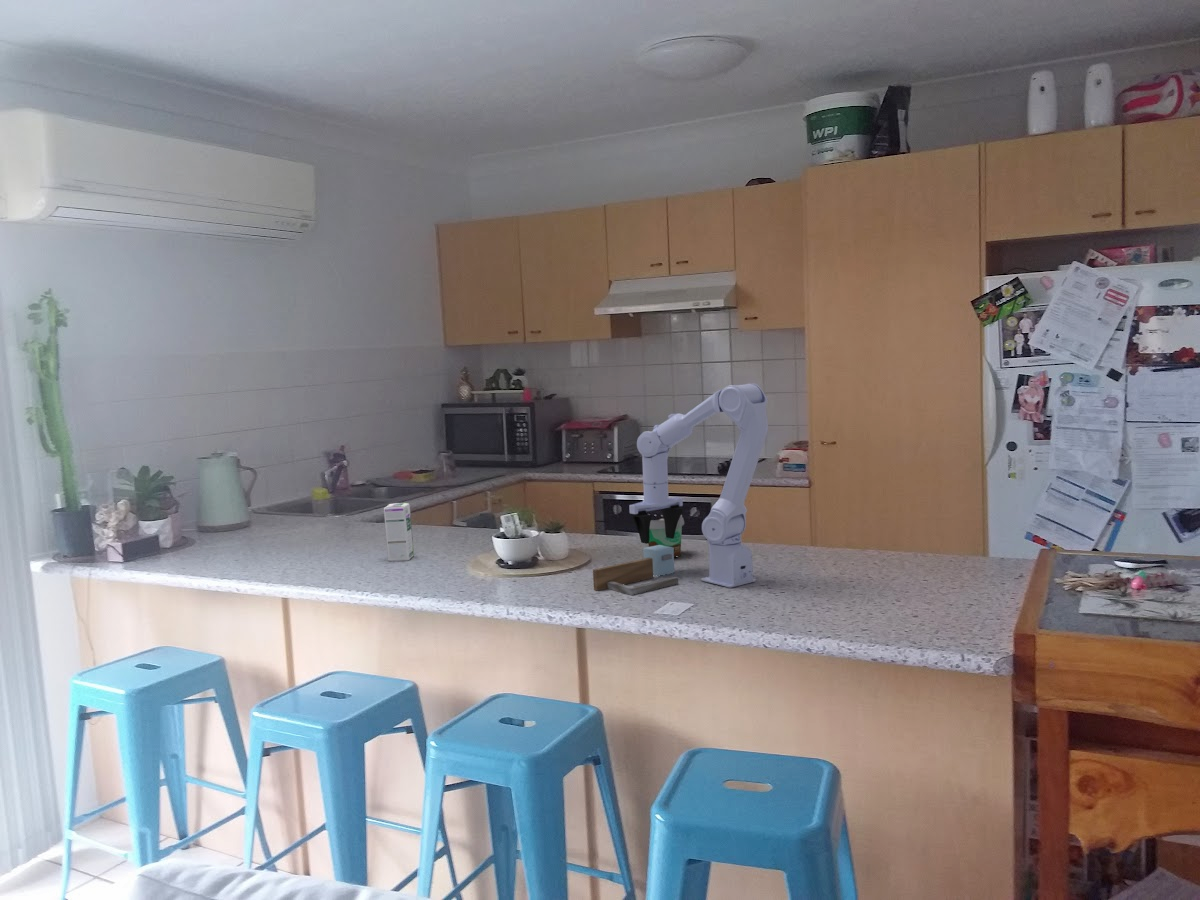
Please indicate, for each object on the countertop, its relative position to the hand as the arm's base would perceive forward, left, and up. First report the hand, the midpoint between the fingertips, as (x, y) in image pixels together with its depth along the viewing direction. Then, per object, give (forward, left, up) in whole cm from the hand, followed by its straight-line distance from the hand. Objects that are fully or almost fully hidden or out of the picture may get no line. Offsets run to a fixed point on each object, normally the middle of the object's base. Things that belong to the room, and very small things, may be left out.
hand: (657, 540), depth 221 cm
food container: (+11, -13, -8) cm, 19 cm away
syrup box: (+63, +36, -8) cm, 73 cm away
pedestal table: (-6, +12, -8) cm, 16 cm away
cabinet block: (0, 0, -8) cm, 8 cm away
